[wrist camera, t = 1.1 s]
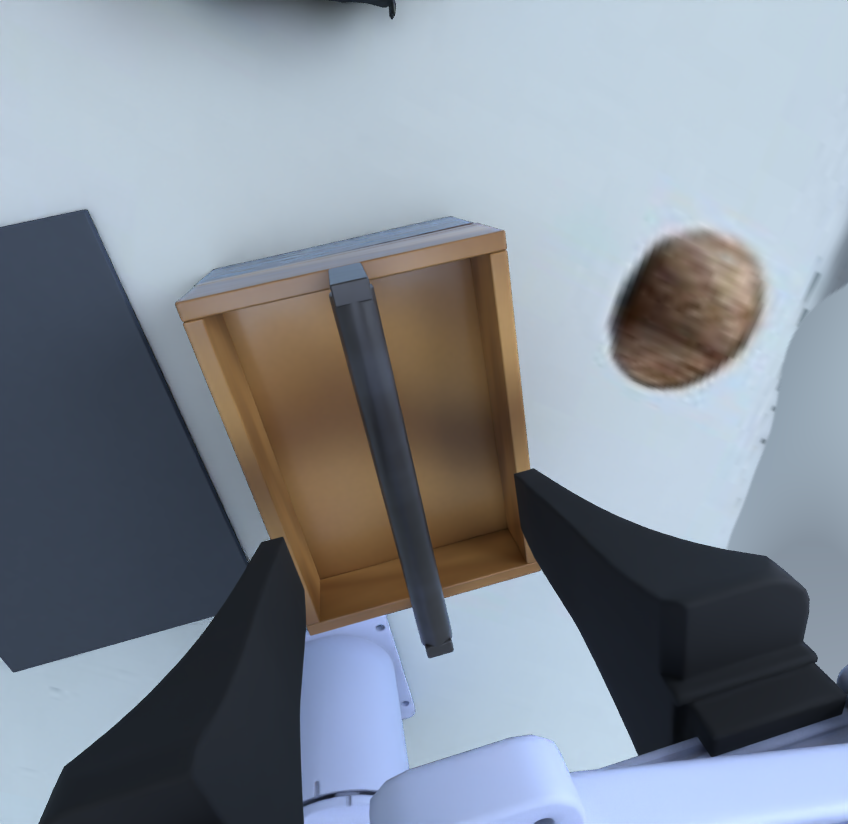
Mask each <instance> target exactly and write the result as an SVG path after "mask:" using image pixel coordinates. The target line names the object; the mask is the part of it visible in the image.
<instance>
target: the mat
mask: <svg viewBox="0 0 848 824" xmlns="http://www.w3.org/2000/svg"><path fill="white" fill-rule="evenodd" d="M247 566H248V562H247V559H246V557H245V555H244V553H243V551H242V548H241V546H240V544H239V542H238V540H237V537H236V535H235V533H234V531H233V529H232V526H231V524H230V522H229V520H228V518H227V515H226V513H225V511H224V509H223V507H222V505H221V502H220V500H219V498H218V496H217V494H216V491H215V489H214V487H213V485H212V483H211V480H210V478H209V476H208V474H207V472H206V469H205V467H204V465H203V463H202V461H201V458H200V456H199V454H198V452H197V450H196V447H195V445H194V443H193V441H192V439H191V436H190V434H189V432H188V430H187V428H186V425H185V423H184V421H183V419H182V417H181V415H180V412H179V410H178V408H177V406H176V404H175V401H174V399H173V397H172V395H171V393H170V390H169V388H168V386H167V384H166V382H165V379H164V377H163V375H162V373H161V371H160V368H159V366H158V364H157V362H156V360H155V357H154V355H153V353H152V351H151V349H150V346H149V344H148V342H147V340H146V338H145V335H144V333H143V331H142V329H141V327H140V325H139V322H138V320H137V318H136V316H135V314H134V311H133V309H132V307H131V305H130V303H129V300H128V298H127V296H126V294H125V292H124V289H123V287H122V285H121V283H120V281H119V278H118V276H117V274H116V272H115V270H114V267H113V265H112V263H111V261H110V259H109V256H108V254H107V252H106V250H105V248H104V245H103V243H102V241H101V239H100V237H99V235H98V232H97V230H96V228H95V226H94V224H93V221H92V219H91V217H90V215H89V213H88V211H87V210H80V211H76V212H71V213H66V214H61V215H57V216H52V217H47V218H42V219H37V220H33V221H28V222H23V223H18V224H14V225H9V226H4V227H0V657H1V658H2V660H3V661H4V662H5V663H6V664H7V666H8V667H9V668H10V669H11V670H12V672H17V671H21V670H24V669H28V668H31V667H35V666H39V665H42V664H46V663H49V662H53V661H56V660H60V659H63V658H67V657H71V656H74V655H78V654H81V653H85V652H88V651H92V650H95V649H99V648H103V647H106V646H110V645H113V644H117V643H120V642H124V641H127V640H131V639H135V638H138V637H142V636H145V635H149V634H152V633H156V632H159V631H163V630H167V629H170V628H174V627H177V626H181V625H184V624H188V623H191V622H195V621H199V620H202V619H206V618H209V617H213V616H216V614H217V613H218V611H219V610H220V608H221V607H222V606H223V604H224V603H225V601H226V600H227V598H228V596H229V595H230V593H231V592H232V590H233V589H234V587H235V585H236V584H237V582H238V581H239V579H240V577H241V576H242V574H243V572H244V571H245V569H246V567H247Z"/></svg>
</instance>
